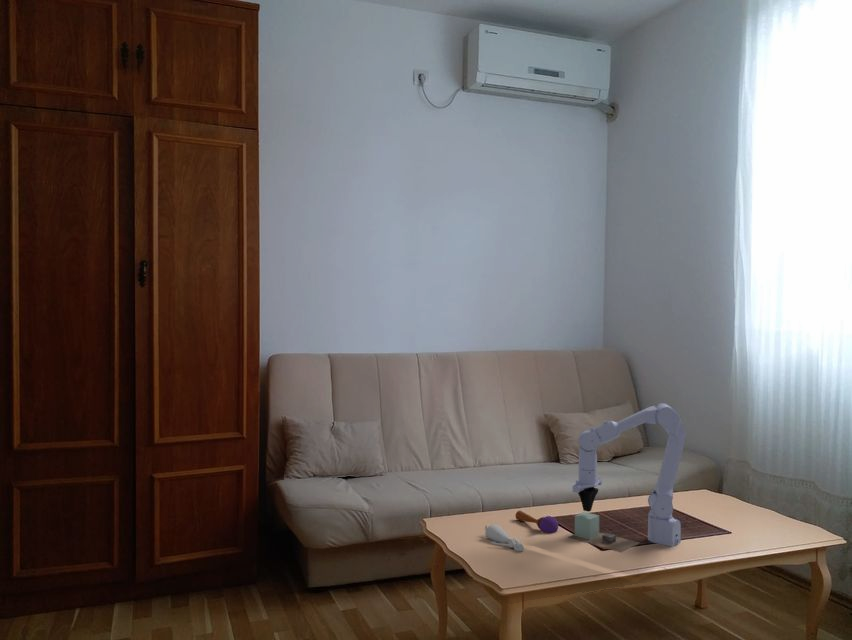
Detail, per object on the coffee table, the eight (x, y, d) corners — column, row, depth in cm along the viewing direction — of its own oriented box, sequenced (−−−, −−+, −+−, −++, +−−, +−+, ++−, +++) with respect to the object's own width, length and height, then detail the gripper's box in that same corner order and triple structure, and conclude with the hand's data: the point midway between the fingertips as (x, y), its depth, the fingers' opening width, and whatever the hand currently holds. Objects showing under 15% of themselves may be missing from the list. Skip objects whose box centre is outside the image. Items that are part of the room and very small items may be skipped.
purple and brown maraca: (527, 507, 248) (562, 518, 230) (525, 524, 247) (560, 537, 229) (513, 506, 245) (548, 517, 227) (511, 523, 245) (545, 536, 227)
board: (640, 546, 220) (640, 527, 219) (621, 556, 211) (621, 535, 211) (587, 532, 233) (587, 513, 233) (567, 540, 224) (567, 521, 224)
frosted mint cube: (599, 535, 226) (599, 515, 226) (589, 539, 222) (590, 519, 222) (583, 531, 230) (584, 511, 230) (574, 535, 226) (574, 515, 226)
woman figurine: (503, 519, 232) (537, 539, 217) (502, 532, 232) (536, 553, 217) (474, 524, 226) (507, 545, 211) (473, 537, 227) (506, 559, 211)
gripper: (588, 463, 234) (588, 503, 234) (564, 470, 223) (564, 512, 223) (607, 466, 229) (607, 508, 229) (583, 474, 218) (583, 517, 219)
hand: (587, 510), depth 226 cm, fingers closed
